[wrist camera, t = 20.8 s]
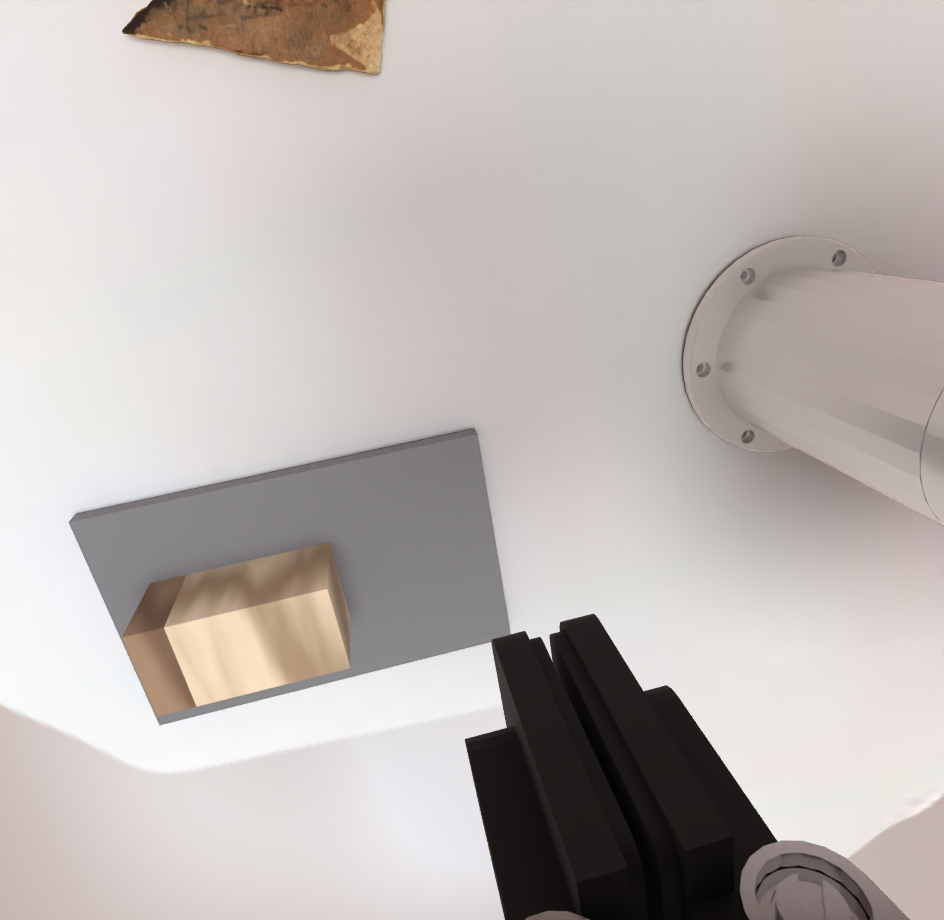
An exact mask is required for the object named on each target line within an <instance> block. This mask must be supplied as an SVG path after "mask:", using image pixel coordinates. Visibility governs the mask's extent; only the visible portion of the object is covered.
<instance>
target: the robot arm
mask: <svg viewBox="0 0 944 920" xmlns="http://www.w3.org/2000/svg"><path fill="white" fill-rule="evenodd" d="M742 273H743V274H742ZM741 274H742V277H741ZM698 366H699V368H698V369H697V367H698ZM683 375H684V380H685V386H686V391H687V394H688V397H689V399H690V402H691V404H692V407H693V409H694V411H695V412H696V414H697V415H698V416H699V418H700V419H701V421H702V422H703V424H705V425H706V426H707V427H708V428H709V429H710V430H711V431H712V432H713V433H714V434H716V435H717V436H719V437H721V438H722V439H724V440H726V441H727V442H729V443H731V444H733V445H735V446H737V447H740V448H742V449H746V450H752V451H758V452H777V451H783V450H787V449H792V448H796V449H798V450H800V451H802V452H804V453H806V454H808V455H810V456H812V457H813V458H815V459H817V460H819V461H821V462H823V463H825V464H827V465H829V466H831V467H832V468H834V469H836V470H838V471H840V472H842V473H844V474H846V475H848V476H849V477H851V478H853V479H855V480H857V481H859V482H861V483H863V484H865V485H867V486H868V487H870V488H872V489H874V490H876V491H878V492H880V493H882V494H884V495H885V496H887V497H889V498H891V499H893V500H895V501H897V502H899V503H901V504H903V505H904V506H906V507H908V508H910V509H912V510H914V511H916V512H918V513H920V514H921V515H923V516H925V517H927V518H929V519H931V520H933V521H935V522H937V523H939V524H941V525H942V526H944V282H938V281H930V280H921V279H913V278H905V277H896V276H888V275H880V274H876V272H875V270H874V269H873V268H872V266H871V265H870V264H869V263H868V262H867V260H866V259H865V258H864V257H863V256H862V255H860V254H859V253H858V252H856V251H855V250H854V249H852V248H851V247H850V246H847V245H845V244H843V243H840V242H838V241H835V240H833V239H826V238H819V237H799V236H794V237H789V238H784V239H779V240H774V241H772V242H769V243H767V244H764V245H762V246H759V247H757V248H755V249H753V250H752V251H750V252H749V253H747V254H745V255H744V256H742V257H741V258H739V259H738V260H736V261H735V262H734V263H733V264H732V265H731V266H730V267H729V268H727V269H726V270H725V271H724V272H723V273H722V274H721V275H720V276H719V277H718V278H717V280H716V281H715V282H714V284H713V285H712V286H711V287H710V289H709V290H708V291H707V292H706V294H705V296H704V297H703V299H702V301H701V303H700V305H699V306H698V308H697V310H696V312H695V314H694V317H693V319H692V322H691V325H690V328H689V330H688V333H687V338H686V343H685V349H684V358H683ZM491 642H492V649H493V655H494V660H495V666H496V671H497V677H498V682H499V688H500V693H501V699H502V704H503V710H504V715H505V720H506V726H507V728H505V729H501V730H498V731H494V732H490V733H486V734H482V735H479V736H475V737H471V738H467V739H465V743H466V747H467V752H468V756H469V761H470V765H471V770H472V775H473V780H474V784H475V788H476V793H477V798H478V802H479V807H480V811H481V815H482V820H483V825H484V829H485V834H486V838H487V842H488V847H489V851H490V855H491V860H492V864H493V869H494V873H495V878H496V882H497V887H498V891H499V895H500V899H501V904H502V908H503V913H504V917H505V920H910V919H909V918H908V917H907V916H906V915H905V914H904V913H902V911H901V910H900V909H899V908H898V907H897V906H896V905H895V904H894V903H893V902H892V901H891V900H890V899H889V898H888V897H887V896H886V895H885V894H884V893H883V892H882V891H881V890H880V889H879V888H878V886H876V884H875V883H874V882H873V881H872V880H870V878H869V877H868V876H867V875H866V874H864V873H863V872H862V871H861V870H860V869H859V868H857V867H856V866H855V865H854V864H853V863H851V862H850V861H849V860H848V859H846V858H845V857H843V856H841V855H839V854H837V853H835V852H833V851H831V850H829V849H828V848H826V847H823V846H819V845H816V844H812V843H808V842H805V841H779V842H778V841H777V840H776V839H775V837H774V836H773V834H772V833H771V831H770V830H769V828H768V827H767V825H766V824H765V823H764V821H763V820H762V818H761V817H760V815H759V814H758V812H757V811H756V809H755V808H754V806H753V805H752V804H751V802H750V801H749V799H748V798H747V796H746V795H745V793H744V792H743V790H742V789H741V788H740V786H739V785H738V783H737V782H736V780H735V779H734V777H733V776H732V774H731V773H730V772H729V770H728V769H727V767H726V766H725V764H724V763H723V761H722V760H721V758H720V757H719V755H718V754H717V753H716V751H715V750H714V748H713V747H712V745H711V744H710V742H709V741H708V739H707V738H706V737H705V735H704V734H703V732H702V731H701V729H700V728H699V726H698V725H697V723H696V722H695V721H694V719H693V718H692V716H691V715H690V713H689V712H688V710H687V709H686V707H685V706H684V704H683V703H682V702H681V700H680V699H679V697H678V696H677V695H676V693H675V692H674V691H673V690H672V689H671V688H670V687H668V686H667V685H666V686H662V687H658V688H655V689H651V690H647V691H643V690H642V688H641V687H640V685H639V683H638V682H637V680H636V679H635V677H634V675H633V674H632V672H631V670H630V669H629V667H628V666H627V664H626V662H625V661H624V659H623V658H622V656H621V654H620V653H619V651H618V650H617V648H616V646H615V645H614V643H613V642H612V640H611V638H610V637H609V635H608V633H607V632H606V630H605V629H604V627H603V625H602V624H601V622H600V621H599V619H598V618H597V616H596V615H595V614H590V615H586V616H582V617H578V618H574V619H570V620H566V621H562V622H561V623H560V632H558V633H554V634H550V646H551V653H552V660H553V662H552V660H551V658H550V656H549V653H548V651H547V649H546V647H545V645H544V642H543V640H542V639H541V637H538V638H534V639H530V640H529V638H528V635H527V633H526V632H525V631H523V632H519V633H515V634H511V635H507V636H503V637H499V638H495V639H492V640H491Z"/></svg>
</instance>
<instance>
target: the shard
mask: <svg viewBox="0 0 944 920" xmlns="http://www.w3.org/2000/svg"><path fill="white" fill-rule="evenodd" d="M384 21H385V0H152V1H151V2H150V4H149V5H148V6H147V7H145V8H143V9H141V10H140V11H138V12H136V14H135V16H134V17H133V18H132V20H131V21H130V22H129V23H128V24H127V26H126V27H125V28H124V29H123V30H122V32H123V34H129V35H133V36H136V37H139V38H142V39H152V40H161V41H168V42H186V43H191V44H194V45H205V46H212V47H216V48H221V49H226V50H228V51H230V52H234V53H237V54H240V55H244V56H251V57H256V58H267V59H270V60H273V61H277V62H281V63H288V64H300V65H304V66H307V67H313V68H317V69H321V70H333V71H339V70H342V69H349V70H354V71H361V72H366V73H372V74H379V73H380V72H381V59H382V53H381V47H382V36H383V31H384Z"/></svg>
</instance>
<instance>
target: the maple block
mask: <svg viewBox="0 0 944 920" xmlns="http://www.w3.org/2000/svg"><path fill="white" fill-rule="evenodd" d="M122 640H123V642H124V644H125V647H126V649H127V651H128V653H129V656H130V658H131V660H132V662H133V664H134V667H135V669H136V671H137V673H138V676H139V678H140V680H141V682H142V685H143V687H144V689H145V691H146V693H147V696H148V698H149V700H150V702H151V705H152V707H153V709H154V711H155V714H156V716H157V717H158V716H162V715H166V714H170V713H174V712H178V711H182V710H186V709H190V708H193V707H197V706H201V705H205V704H209V703H213V702H217V701H221V700H225V699H229V698H233V697H237V696H241V695H245V694H249V693H253V692H257V691H261V690H265V689H269V688H273V687H277V686H281V685H285V684H289V683H293V682H297V681H301V680H305V679H309V678H313V677H317V676H321V675H325V674H329V673H333V672H337V671H341V670H345V669H349V668H350V614H349V610H348V607H347V603H346V599H345V596H344V592H343V589H342V585H341V582H340V578H339V574H338V571H337V567H336V564H335V560H334V557H333V553H332V549H331V546H330V542H328V543H324V544H320V545H315V546H311V547H307V548H302V549H298V550H293V551H289V552H285V553H280V554H276V555H272V556H267V557H263V558H259V559H254V560H250V561H245V562H241V563H237V564H232V565H228V566H224V567H219V568H215V569H211V570H206V571H202V572H197V573H193V574H189V575H184V576H180V577H176V578H171V579H167V580H163V581H158V582H154V583H150V584H149V586H148V588H147V590H146V592H145V594H144V595H143V597H142V599H141V601H140V603H139V605H138V607H137V609H136V611H135V613H134V615H133V617H132V619H131V620H130V622H129V624H128V626H127V628H126V630H125V632H124V634H123V636H122Z"/></svg>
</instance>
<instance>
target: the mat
mask: <svg viewBox="0 0 944 920" xmlns="http://www.w3.org/2000/svg"><path fill="white" fill-rule="evenodd" d="M69 524H70V526H71V529H72V531H73V533H74V535H75V537H76V540H77V542H78V544H79V546H80V549H81V551H82V553H83V555H84V558H85V560H86V562H87V564H88V566H89V569H90V571H91V573H92V575H93V578H94V580H95V582H96V584H97V587H98V589H99V591H100V593H101V596H102V598H103V600H104V602H105V604H106V607H107V609H108V611H109V613H110V616H111V618H112V620H113V622H114V625H115V627H116V629H117V631H118V633H119V636H120V638H121V640H122V636H123V634H124V632H125V630H126V628H127V626H128V624H129V622H130V620H131V619H132V617H133V615H134V613H135V611H136V609H137V607H138V605H139V603H140V601H141V599H142V597H143V595H144V594H145V592H146V590H147V588H148V586H149V584H150V583H154V582H158V581H163V580H167V579H171V578H176V577H180V576H184V575H189V574H193V573H197V572H202V571H206V570H211V569H215V568H219V567H224V566H228V565H232V564H237V563H241V562H245V561H250V560H254V559H259V558H263V557H267V556H272V555H276V554H280V553H285V552H289V551H293V550H298V549H302V548H307V547H311V546H315V545H320V544H324V543H328V542H330V546H331V549H332V553H333V557H334V560H335V564H336V567H337V571H338V574H339V578H340V582H341V585H342V589H343V592H344V596H345V599H346V603H347V607H348V610H349V614H350V668H349V669H345V670H341V671H337V672H333V673H329V674H325V675H321V676H317V677H313V678H309V679H305V680H301V681H297V682H293V683H289V684H285V685H281V686H277V687H273V688H269V689H265V690H261V691H257V692H253V693H249V694H245V695H241V696H237V697H233V698H229V699H225V700H221V701H217V702H213V703H209V704H205V705H201V706H197V707H193V708H190V709H186V710H182V711H178V712H174V713H170V714H166V715H162V716H158V717H157V716H156V714H155V711H154V709H153V707H152V705H151V702H150V700H149V698H148V696H147V693H146V691H145V689H144V687H143V685H142V682H141V680H140V678H139V676H138V673H137V671H136V669H135V667H134V664H133V662H132V660H131V658H130V656H129V653H128V651H127V649H126V647H125V644H124V642H123V640H122V642H123V645H124V647H125V649H126V651H127V654H128V656H129V658H130V660H131V662H132V665H133V667H134V669H135V671H136V674H137V676H138V678H139V680H140V683H141V685H142V687H143V689H144V692H145V694H146V696H147V698H148V700H149V703H150V705H151V707H152V709H153V712H154V714H155V716H156V718H157V721H158V723H159V725H163V724H167V723H171V722H175V721H179V720H183V719H187V718H191V717H195V716H198V715H202V714H206V713H210V712H214V711H218V710H222V709H226V708H230V707H234V706H238V705H242V704H246V703H250V702H254V701H258V700H262V699H266V698H270V697H274V696H278V695H282V694H286V693H290V692H294V691H298V690H302V689H306V688H310V687H314V686H318V685H322V684H326V683H330V682H334V681H337V680H341V679H345V678H349V677H353V676H357V675H361V674H365V673H369V672H373V671H377V670H381V669H385V668H389V667H393V666H397V665H401V664H405V663H409V662H413V661H417V660H421V659H425V658H429V657H433V656H437V655H441V654H445V653H449V652H453V651H457V650H461V649H465V648H469V647H473V646H476V645H480V644H484V643H488V642H491V640H492V639H495V638H499V637H503V636H507V635H511V634H510V628H509V622H508V616H507V610H506V604H505V598H504V592H503V586H502V580H501V574H500V568H499V562H498V556H497V550H496V544H495V538H494V532H493V526H492V520H491V514H490V509H489V503H488V497H487V491H486V485H485V479H484V473H483V467H482V461H481V455H480V449H479V443H478V437H477V433H476V432H475V430H474V429H470V430H465V431H461V432H456V433H452V434H447V435H442V436H438V437H433V438H428V439H424V440H419V441H414V442H410V443H405V444H400V445H396V446H391V447H386V448H382V449H377V450H372V451H368V452H363V453H358V454H354V455H349V456H344V457H340V458H335V459H330V460H326V461H321V462H316V463H312V464H307V465H302V466H298V467H293V468H289V469H284V470H279V471H275V472H270V473H265V474H261V475H256V476H251V477H247V478H242V479H237V480H233V481H228V482H223V483H219V484H214V485H209V486H205V487H200V488H195V489H191V490H186V491H181V492H177V493H172V494H167V495H163V496H158V497H153V498H149V499H144V500H139V501H135V502H130V503H125V504H121V505H116V506H112V507H107V508H102V509H98V510H93V511H88V512H84V513H79V514H76V515H75V516H74V517H73V518H72V519H71V520H70V521H69Z"/></svg>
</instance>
